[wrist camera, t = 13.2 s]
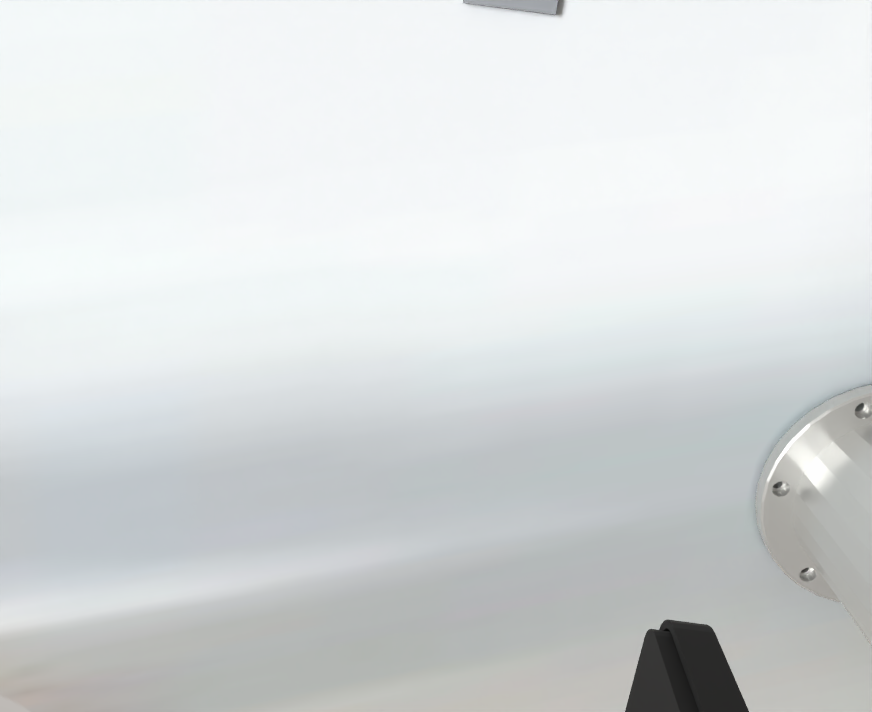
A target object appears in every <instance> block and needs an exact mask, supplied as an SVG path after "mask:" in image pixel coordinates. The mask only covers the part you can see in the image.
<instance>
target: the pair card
mask: <svg viewBox="0 0 872 712" xmlns="http://www.w3.org/2000/svg"><path fill="white" fill-rule="evenodd" d="M463 3H468V4H475V5H483V6H491V7H499V8H506V9H514V10H522V11H530V12H537V13H545V14H553V15H556V10H557V4H558V0H463Z"/></svg>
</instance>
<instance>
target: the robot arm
mask: <svg viewBox="0 0 872 712" xmlns="http://www.w3.org/2000/svg"><path fill="white" fill-rule="evenodd" d="M857 405H859V406H857ZM755 509H756V520H757V525H758V528H759V531H760V534H761V537H762V540H763V542H764V544H765V546H766V547H767V549H768V551H769V553H770V554H771V556H772V558H773V559H774V561H775V562H776V563H777V564H778V566H779V567H780V568H781V569H782V571H783V572H784V573H785V574H786V575H787V576H788V577H789V578H790V579H792V580H793V581H794V582H795V583H796V584H798V585H799V586H801V587H803V588H804V589H806V590H808V591H810V592H812V593H814V594H816V595H818V596H820V597H824V598H827V599H830V600H833V601H836V602H840V603H842V605H843V606H844V607H845V609H846V610H847V612H848V613H849V614H850V616H851V617H852V619H853V620H854V622H855V623H856V624H857V626H858V627H859V629H860V630H861V632H862V633H863V634H864V636H865V637H866V639H867V640H868V642H869V643H870V644H871V646H872V385H868V386H863V387H858V388H855V389H853V390H850V391H848V392H845V393H843V394H840V395H837V396H835V397H833V398H831V399H829V400H828V401H826V402H824V403H822V404H821V405H819V406H817V407H815V408H814V409H812V410H811V411H809V412H808V413H807V414H806V415H805V416H803V417H802V418H801V419H800V420H799V421H797V422H796V423H795V424H794V425H792V427H791V428H790V429H789V430H788V431H787V432H786V433H785V435H784V436H783V437H782V438H781V439H780V440H779V441H778V443H777V444H776V446H775V447H774V449H773V451H772V452H771V454H770V456H769V457H768V459H767V461H766V462H765V465H764V467H763V470H762V473H761V476H760V479H759V481H758V485H757V493H756V500H755ZM625 712H749V711H748V708H747V706H746V704H745V701H744V699H743V697H742V695H741V692H740V690H739V688H738V685H737V683H736V681H735V678H734V676H733V674H732V672H731V669H730V667H729V665H728V662H727V660H726V658H725V655H724V653H723V651H722V649H721V646H720V644H719V642H718V639H717V637H716V635H715V633H714V631H713V629H712V628H711V627H710V626H708V625H704V624H696V623H689V622H681V621H674V620H665V621H664V622H663V623H662V624H661V627H660V629H659V630H654V629H650V630H648V631H647V633H646V636H645V638H644V642H643V646H642V650H641V654H640V657H639V661H638V665H637V669H636V673H635V676H634V680H633V684H632V688H631V692H630V695H629V699H628V703H627V707H626V711H625Z"/></svg>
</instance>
